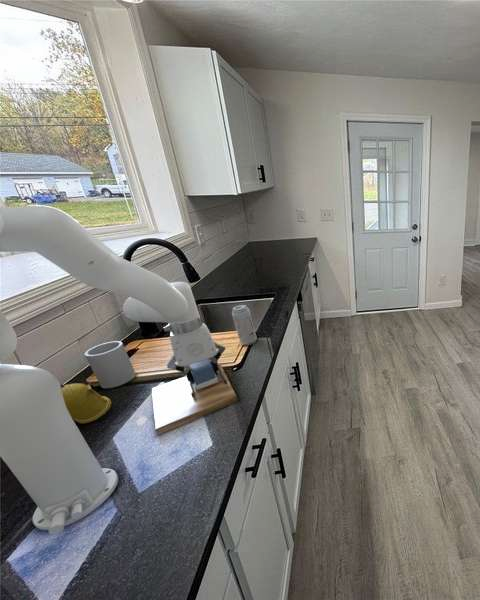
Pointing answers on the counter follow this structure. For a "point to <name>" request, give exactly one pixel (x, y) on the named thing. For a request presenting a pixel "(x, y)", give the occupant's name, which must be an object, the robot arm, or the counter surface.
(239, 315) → the energy drink can
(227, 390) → the wooden base
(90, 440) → the counter surface
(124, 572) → the counter surface
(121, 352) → the cup
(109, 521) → the counter surface
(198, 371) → the blue and white block
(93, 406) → the yellow rounded dome part
